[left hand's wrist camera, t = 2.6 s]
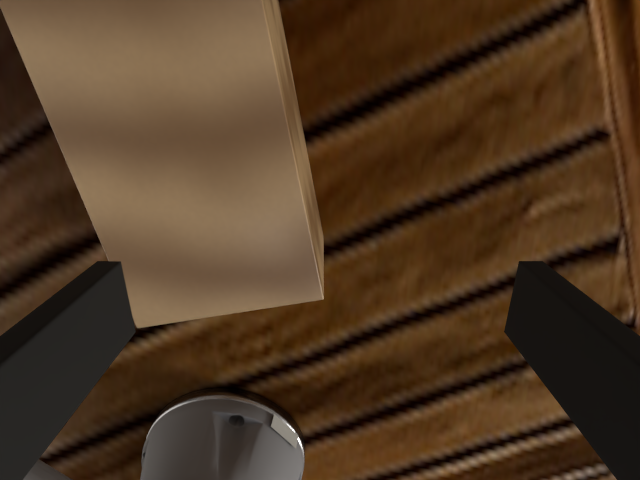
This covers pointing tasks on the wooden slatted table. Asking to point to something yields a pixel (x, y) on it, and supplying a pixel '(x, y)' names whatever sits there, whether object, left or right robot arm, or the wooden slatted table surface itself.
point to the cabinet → (181, 147)
